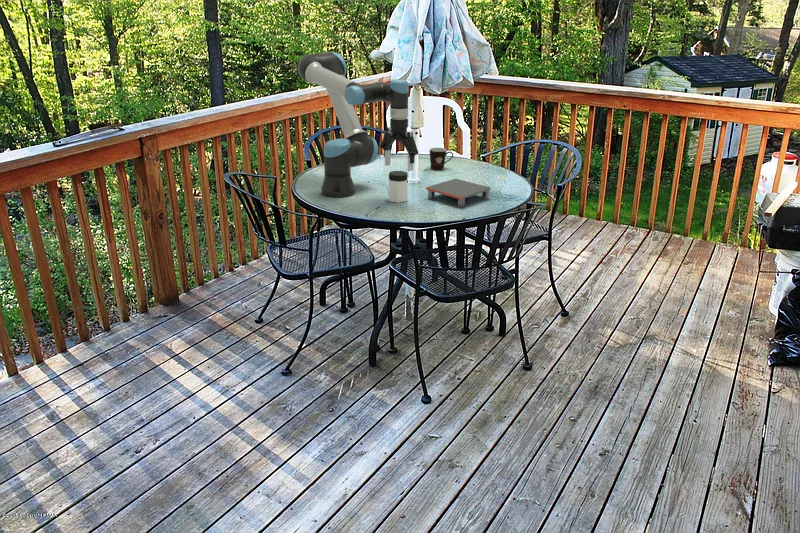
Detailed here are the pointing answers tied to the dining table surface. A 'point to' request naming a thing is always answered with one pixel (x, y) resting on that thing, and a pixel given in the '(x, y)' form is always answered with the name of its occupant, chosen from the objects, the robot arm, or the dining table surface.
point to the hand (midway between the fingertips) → (398, 168)
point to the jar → (398, 186)
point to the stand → (458, 190)
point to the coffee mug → (438, 158)
